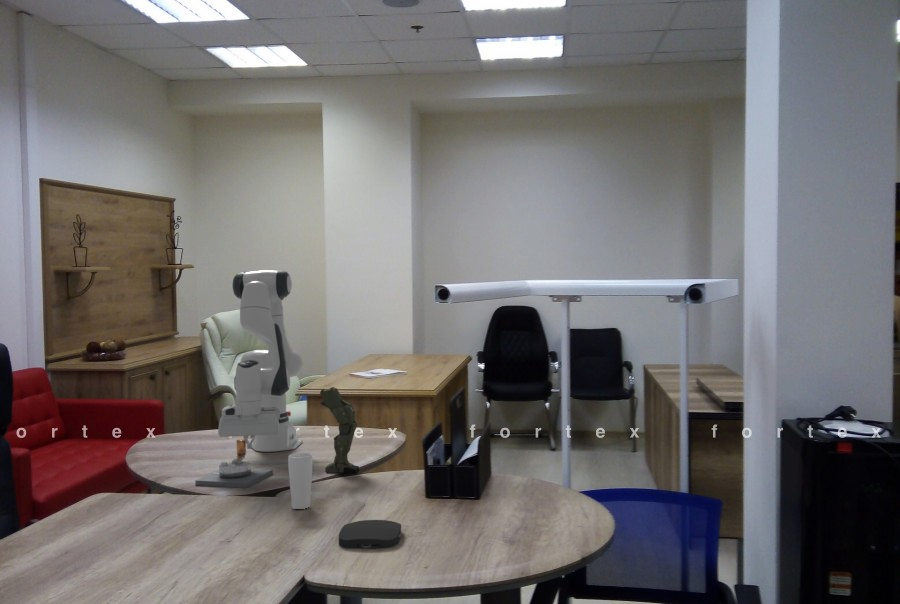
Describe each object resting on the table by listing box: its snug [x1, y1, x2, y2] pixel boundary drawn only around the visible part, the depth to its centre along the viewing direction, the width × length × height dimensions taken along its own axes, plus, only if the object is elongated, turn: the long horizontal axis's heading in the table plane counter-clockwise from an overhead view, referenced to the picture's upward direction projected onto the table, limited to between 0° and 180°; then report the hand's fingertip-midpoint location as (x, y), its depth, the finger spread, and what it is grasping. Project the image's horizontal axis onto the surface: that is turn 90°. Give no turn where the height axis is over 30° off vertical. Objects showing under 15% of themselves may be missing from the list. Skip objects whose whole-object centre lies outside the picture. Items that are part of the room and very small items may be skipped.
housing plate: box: [194, 468, 274, 489], centre depth 239 cm, size 18×18×2 cm
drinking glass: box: [287, 452, 314, 510], centre depth 206 cm, size 7×7×15 cm
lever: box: [218, 438, 252, 478], centre depth 242 cm, size 16×10×9 cm, turn 5°
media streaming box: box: [338, 519, 402, 549], centre depth 180 cm, size 15×15×3 cm
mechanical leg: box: [319, 386, 360, 474], centre depth 249 cm, size 14×7×30 cm, turn 85°
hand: (249, 448), depth 250 cm, fingers closed
